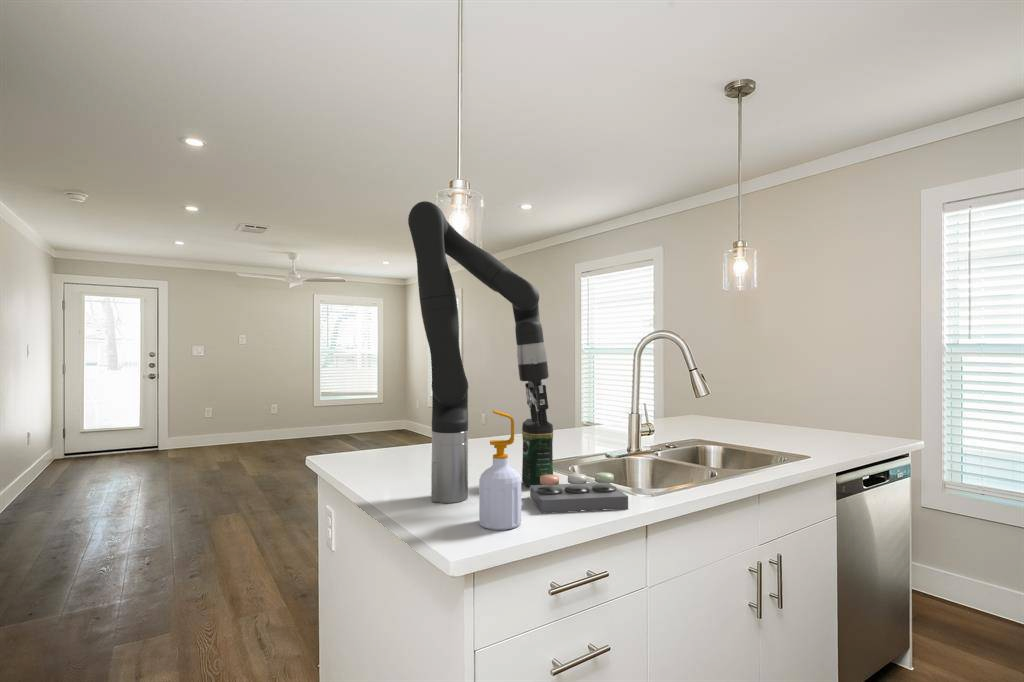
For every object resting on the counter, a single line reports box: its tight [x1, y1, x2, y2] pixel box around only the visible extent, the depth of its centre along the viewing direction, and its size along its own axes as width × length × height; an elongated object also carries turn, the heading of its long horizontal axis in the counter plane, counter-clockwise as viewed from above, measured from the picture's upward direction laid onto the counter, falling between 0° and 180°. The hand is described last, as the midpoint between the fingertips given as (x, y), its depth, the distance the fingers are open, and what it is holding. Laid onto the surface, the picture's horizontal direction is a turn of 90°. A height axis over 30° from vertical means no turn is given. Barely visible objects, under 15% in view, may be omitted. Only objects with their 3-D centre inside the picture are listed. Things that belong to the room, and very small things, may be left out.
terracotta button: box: [540, 474, 560, 486], centre depth 129 cm, size 5×5×2 cm
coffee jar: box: [521, 418, 554, 488], centre depth 148 cm, size 10×8×19 cm
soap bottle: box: [478, 409, 522, 531], centre depth 114 cm, size 9×9×25 cm
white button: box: [567, 473, 588, 484], centre depth 130 cm, size 5×5×2 cm
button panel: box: [529, 482, 629, 514], centre depth 130 cm, size 21×14×4 cm, turn 99°
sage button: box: [594, 472, 615, 484], centre depth 131 cm, size 5×5×2 cm
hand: (539, 424), depth 135 cm, fingers open, 8 cm apart
